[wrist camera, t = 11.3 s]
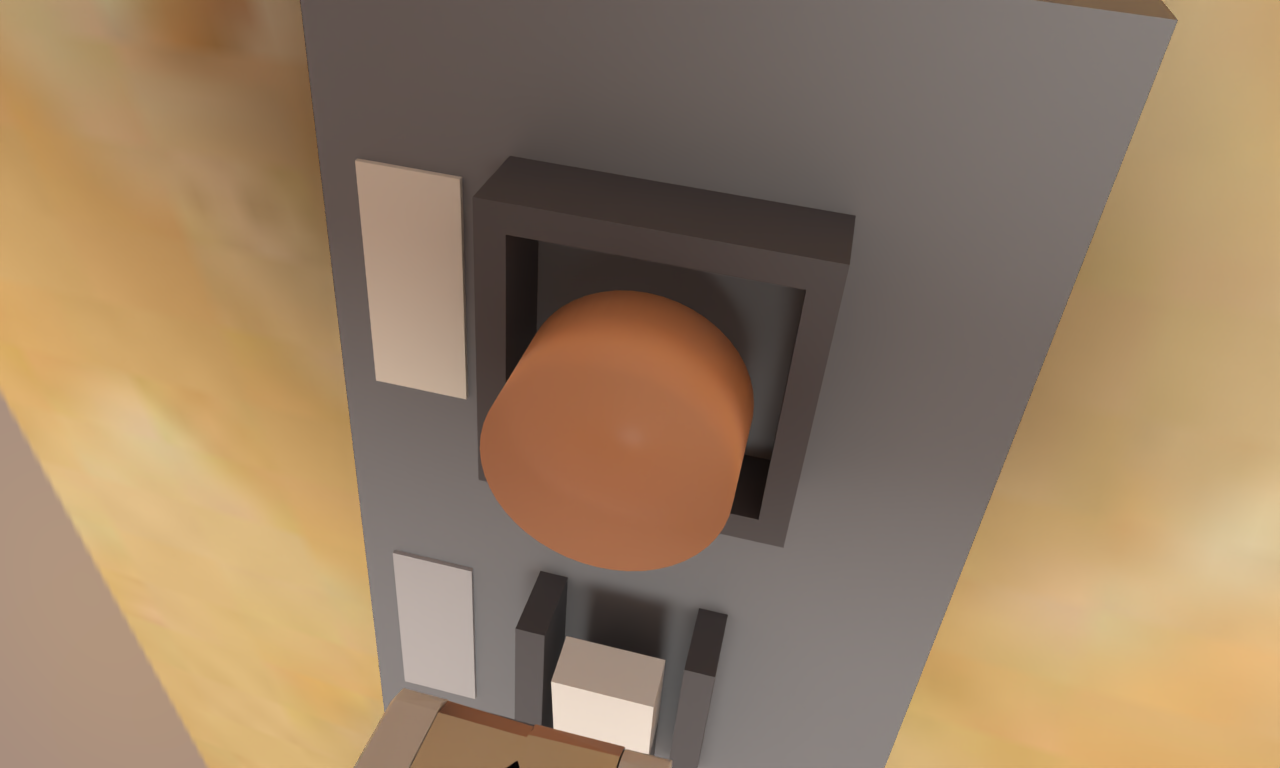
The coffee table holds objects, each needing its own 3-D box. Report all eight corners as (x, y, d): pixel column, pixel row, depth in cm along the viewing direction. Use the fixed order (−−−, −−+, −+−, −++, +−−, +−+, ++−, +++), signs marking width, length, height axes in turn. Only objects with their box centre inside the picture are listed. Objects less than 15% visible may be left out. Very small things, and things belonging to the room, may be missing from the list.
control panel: (353, -124, 15) (223, -84, 12) (1147, -17, 14) (1208, 56, 11) (434, 865, 33) (388, 976, 30) (787, 965, 31) (774, 1092, 28)
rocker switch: (566, 635, 19) (550, 681, 19) (665, 659, 19) (653, 707, 18) (569, 746, 23) (556, 787, 22) (652, 767, 22) (642, 810, 22)
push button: (527, 269, 14) (477, 341, 13) (771, 315, 14) (752, 396, 12) (523, 458, 16) (481, 540, 15) (736, 504, 16) (716, 594, 14)
